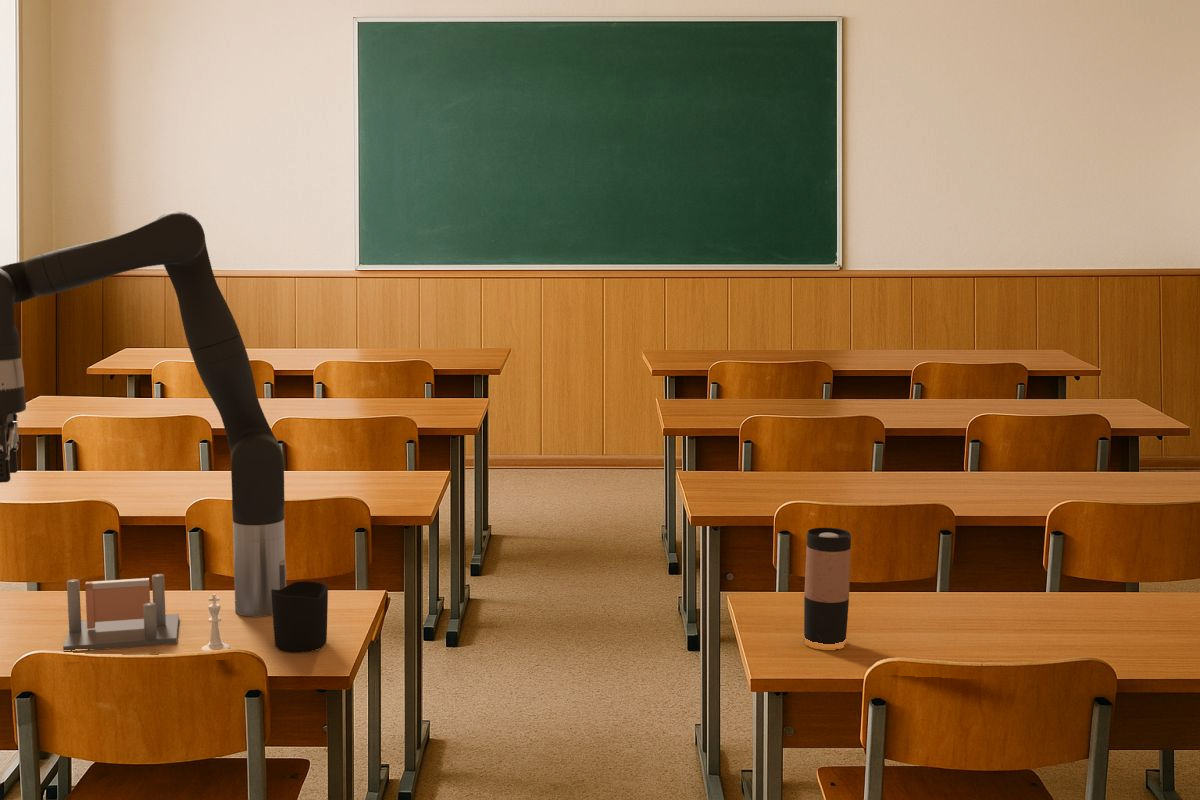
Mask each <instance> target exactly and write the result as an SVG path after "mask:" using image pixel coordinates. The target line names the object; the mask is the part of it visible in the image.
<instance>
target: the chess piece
mask: <svg viewBox="0 0 1200 800" xmlns="http://www.w3.org/2000/svg"><path fill="white" fill-rule="evenodd" d="M211 595H212V597H208V601H209V602H212V603H211V604H209V605H208V606H207V608H208V611H209V614H210V617H209V618H208V620H207V621H208V622H209V623H211V630H210V631H211V632H210V641H209V642H208V644H205V645H203V646H202V647H201V648H200V652H201V651H211V650H221V649H231V646H230V644H229V643H225V642H223V640H221V636H220V635H221V634H220V628H219V622H221V621H222V617H219V614H220V610H221V604H219V603H217V602H219V601H220V600H221V599H220V597H216V595H217V594H216V593H213V594H211Z"/></svg>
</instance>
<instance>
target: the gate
mask: <svg viewBox="0 0 1200 800" xmlns="http://www.w3.org/2000/svg"><path fill="white" fill-rule="evenodd" d="M84 585H85V589H84V590H85V609H86V611H85V612H86V620H87V629H92V628H95V622H104V621H118V620H132V619H144V608H143V605H144V604H146V603H151V595H150V594H151V593H150V592H151V590H150V588H151V587H150V578H149V577H142V578H130V579H129V578H126V579H125V578H124V579H111V580H95V581H85V584H84Z"/></svg>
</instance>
